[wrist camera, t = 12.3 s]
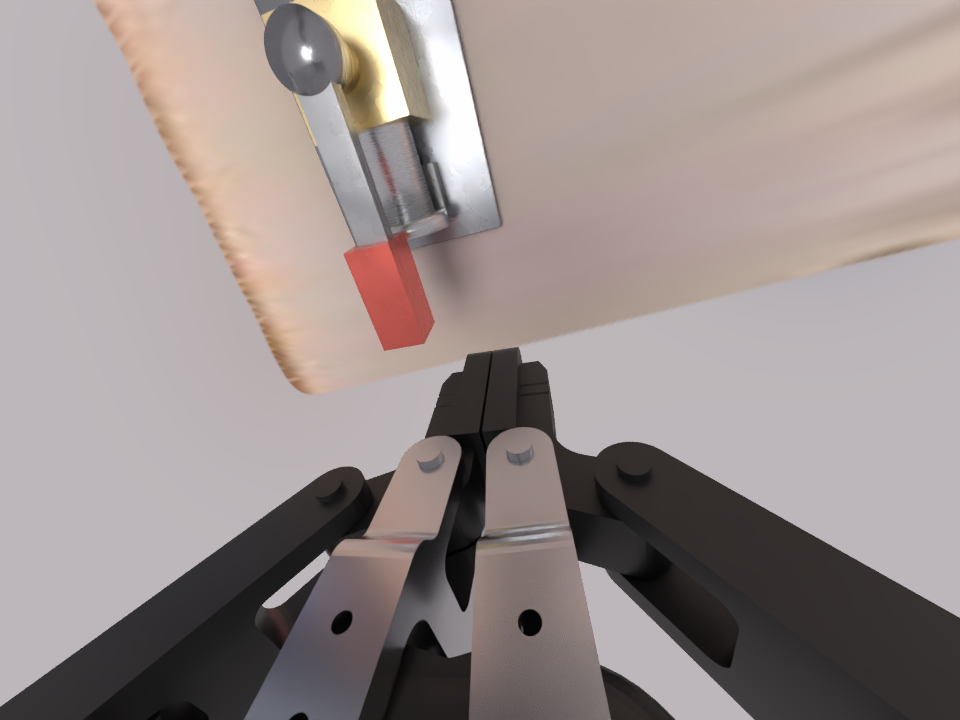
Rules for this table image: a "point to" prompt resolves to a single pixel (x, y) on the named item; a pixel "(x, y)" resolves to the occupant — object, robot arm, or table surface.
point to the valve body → (412, 114)
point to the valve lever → (349, 172)
